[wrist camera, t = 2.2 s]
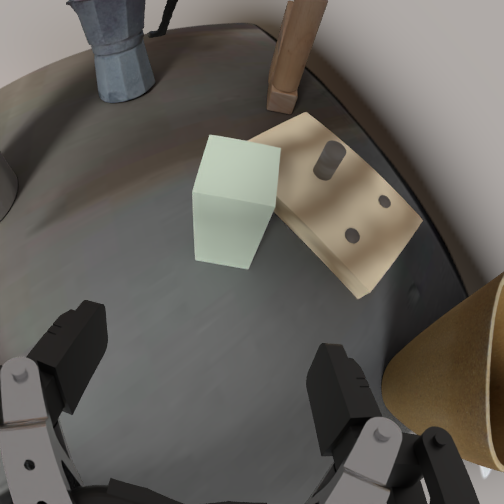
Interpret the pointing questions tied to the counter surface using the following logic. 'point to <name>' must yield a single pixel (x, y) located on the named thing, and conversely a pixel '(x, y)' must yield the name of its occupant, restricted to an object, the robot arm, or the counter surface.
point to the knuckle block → (233, 200)
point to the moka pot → (119, 45)
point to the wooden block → (293, 52)
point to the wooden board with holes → (338, 203)
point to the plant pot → (456, 377)
